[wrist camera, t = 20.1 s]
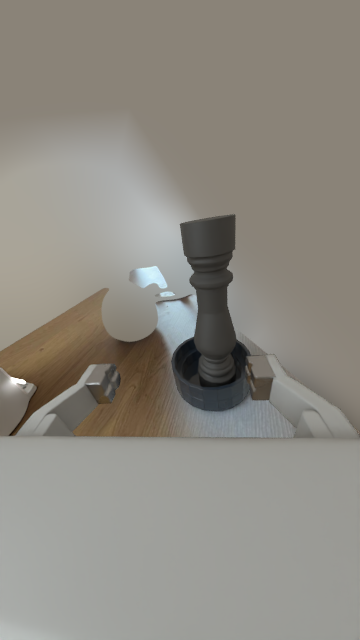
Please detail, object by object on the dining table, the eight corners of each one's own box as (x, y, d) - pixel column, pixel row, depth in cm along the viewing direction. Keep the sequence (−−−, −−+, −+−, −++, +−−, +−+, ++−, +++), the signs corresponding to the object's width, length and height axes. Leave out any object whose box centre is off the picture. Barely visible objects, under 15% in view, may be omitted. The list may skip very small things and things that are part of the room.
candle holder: (238, 372, 32) (242, 212, 19) (232, 401, 27) (232, 216, 15) (205, 365, 35) (190, 220, 22) (194, 391, 30) (167, 226, 17)
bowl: (163, 397, 30) (157, 375, 28) (193, 349, 40) (190, 329, 37) (242, 426, 25) (243, 402, 22) (254, 362, 34) (256, 339, 31)
